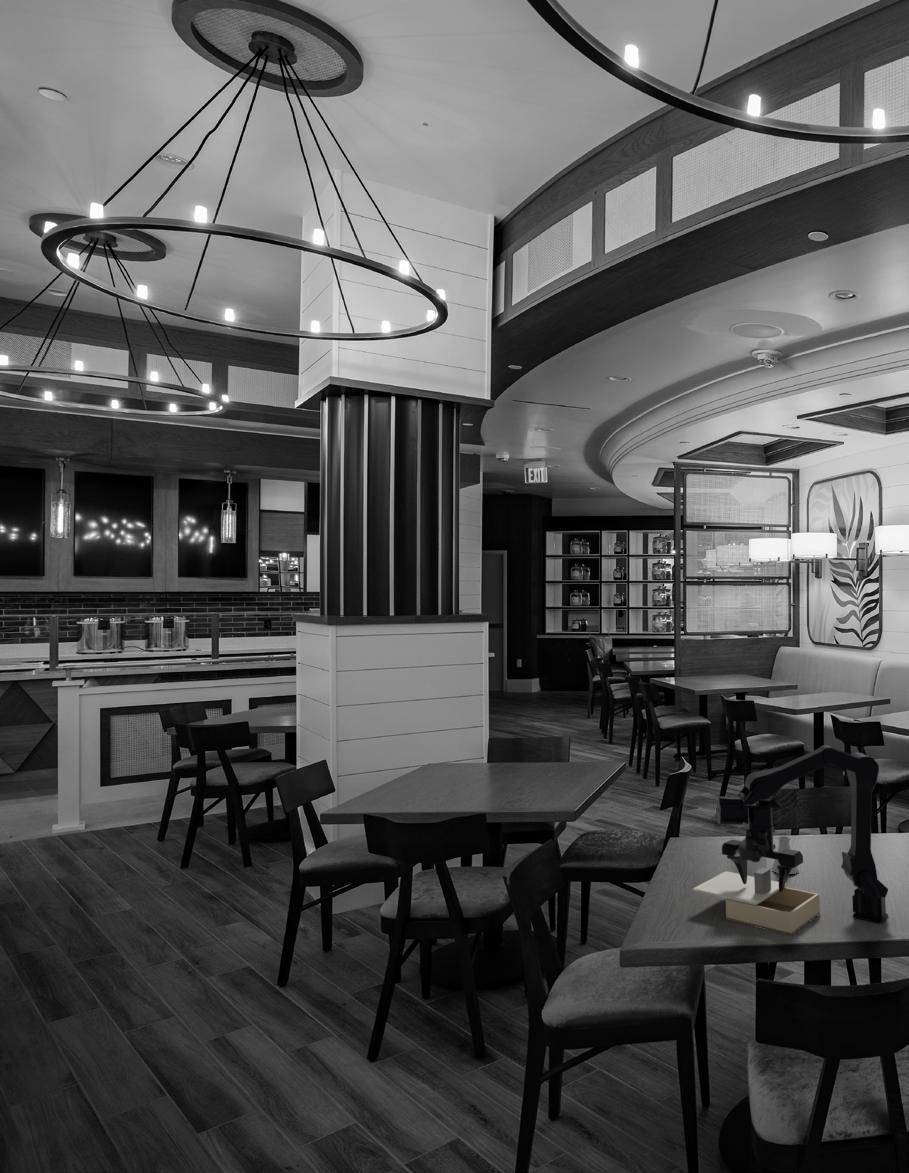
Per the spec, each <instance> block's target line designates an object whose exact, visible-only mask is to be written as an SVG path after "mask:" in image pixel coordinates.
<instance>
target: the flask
mask: <svg viewBox="0 0 909 1173" xmlns="http://www.w3.org/2000/svg"><path fill="white" fill-rule="evenodd" d="M777 839H778V849H777V852H782V851H783V850H785V849H790V850H792V849H791V846H790V841H791V837H789V836H785V835H779V836H777ZM779 865H780V863H779V862H778V860H776V859H774V861H773V863H772V866H771V868H770V870H771V869H772V870H773V871H774V872H773V871H772V870H771V871H772V872H773V873H775V872H776V873H775V874H778V873H779V870H778V868H777V866H779ZM796 873H797V874H799V873H800V871H799V868H798V866H797V867H794V868H792V870H791V872H790V873H789V874H795V875H797V874H796Z"/></svg>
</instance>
